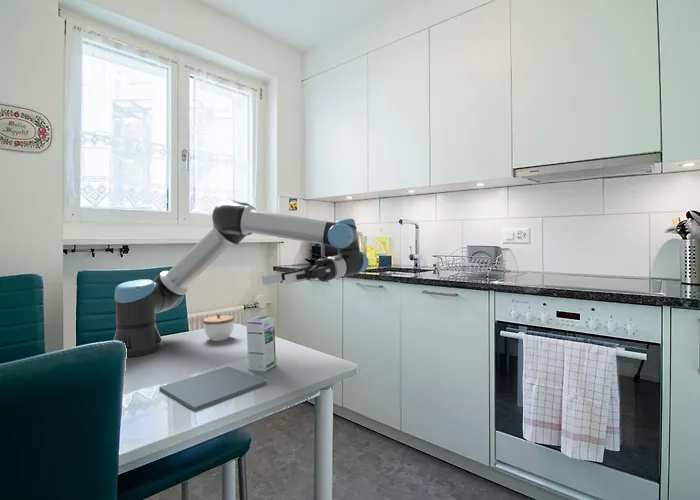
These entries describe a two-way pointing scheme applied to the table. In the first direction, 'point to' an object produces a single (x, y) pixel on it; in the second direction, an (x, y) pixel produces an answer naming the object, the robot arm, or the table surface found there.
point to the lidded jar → (218, 327)
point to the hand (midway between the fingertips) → (273, 280)
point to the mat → (212, 387)
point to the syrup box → (261, 343)
